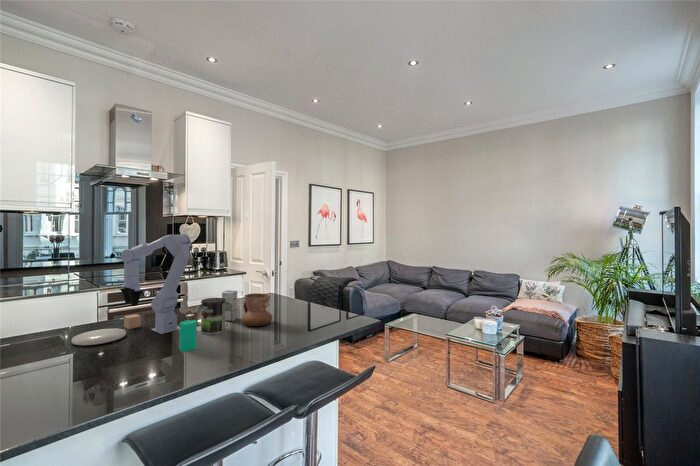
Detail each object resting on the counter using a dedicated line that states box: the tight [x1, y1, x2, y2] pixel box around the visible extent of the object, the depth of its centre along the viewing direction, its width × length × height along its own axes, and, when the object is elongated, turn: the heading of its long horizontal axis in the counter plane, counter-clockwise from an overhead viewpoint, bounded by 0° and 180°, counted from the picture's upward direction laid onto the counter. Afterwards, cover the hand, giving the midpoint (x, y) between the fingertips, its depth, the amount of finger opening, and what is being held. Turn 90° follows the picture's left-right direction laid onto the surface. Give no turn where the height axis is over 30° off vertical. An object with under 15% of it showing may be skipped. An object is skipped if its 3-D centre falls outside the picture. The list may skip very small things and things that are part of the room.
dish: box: [71, 328, 127, 346], centre depth 138 cm, size 18×18×2 cm
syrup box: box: [221, 289, 238, 322], centre depth 168 cm, size 6×6×14 cm
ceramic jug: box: [241, 292, 273, 327], centre depth 162 cm, size 18×14×14 cm
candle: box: [179, 319, 198, 352], centre depth 129 cm, size 6×6×12 cm
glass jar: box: [200, 297, 226, 335], centre depth 150 cm, size 10×10×14 cm
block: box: [123, 313, 142, 330], centre depth 154 cm, size 5×5×5 cm
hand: (131, 304), depth 154 cm, fingers open, 7 cm apart
